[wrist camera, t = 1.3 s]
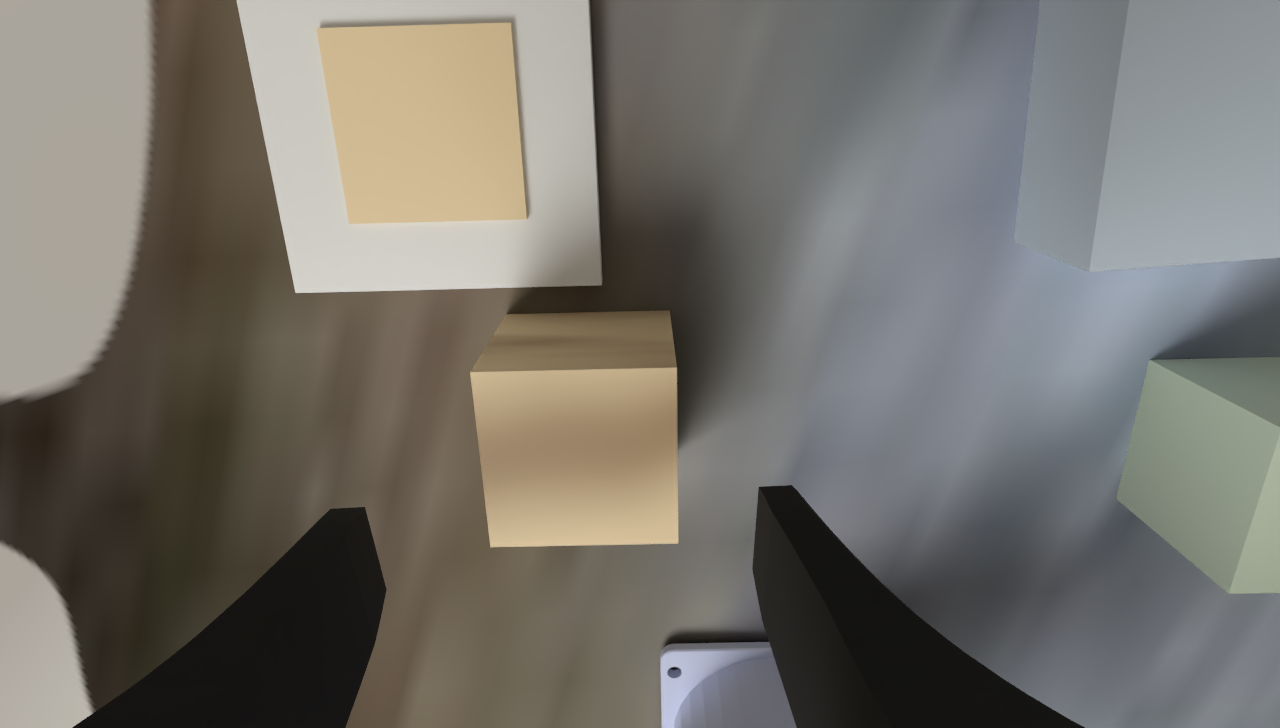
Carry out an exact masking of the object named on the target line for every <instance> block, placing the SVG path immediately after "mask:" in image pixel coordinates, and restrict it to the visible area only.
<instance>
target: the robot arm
mask: <svg viewBox="0 0 1280 728" xmlns="http://www.w3.org/2000/svg"><path fill="white" fill-rule="evenodd" d="M753 574H754V579H755V585H756V590H757V596H758V601H759V606H760V611H761V616H762V620H763V624H764V627H765V630H766V633H767V637H768V640H769V642H736V643H685V644H669V645H667V646H665V647H664V648H663V649H662V650H661V654H660V665H661V714H662V728H1084V727H1083V726H1081V725H1079V724H1077V723H1075V722H1073V721H1071V720H1070V719H1068V718H1066V717H1064V716H1063V715H1061V714H1059V713H1058V712H1056V711H1054V710H1053V709H1051V708H1049V707H1047V706H1046V705H1044V704H1042V703H1041V702H1039V701H1037V700H1036V699H1034V698H1032V697H1031V696H1029V695H1027V694H1026V693H1024V692H1023V691H1021V690H1020V689H1018V688H1016V687H1015V686H1013V685H1012V684H1010V683H1009V682H1007V681H1005V680H1004V679H1002V678H1001V677H999V676H998V675H997V674H995V673H994V672H992V671H991V670H989V669H988V668H986V667H985V666H984V665H982V664H981V663H979V662H978V661H976V660H975V659H973V658H972V657H971V656H969V655H968V654H966V653H965V652H963V651H962V650H961V649H959V648H958V647H957V646H955V645H954V644H953V643H951V642H950V641H949V640H947V639H946V638H945V637H943V636H942V635H941V634H940V633H938V632H937V631H936V630H935V629H934V628H932V627H931V626H930V625H929V624H927V623H926V622H925V621H924V620H922V619H921V618H920V617H919V616H917V615H916V614H915V613H914V612H913V611H912V610H911V609H909V608H908V607H907V606H906V605H905V604H904V603H903V602H902V601H900V600H899V599H898V598H897V597H896V596H895V595H894V594H893V593H892V592H891V591H890V590H889V589H888V588H886V587H885V586H884V585H883V584H882V583H881V582H880V581H879V580H878V579H877V578H876V577H875V576H874V575H873V574H872V573H871V572H870V571H869V570H868V569H867V568H866V567H865V566H864V565H863V564H862V563H861V562H860V561H859V560H858V559H857V558H856V557H855V556H854V555H853V553H852V552H851V551H850V550H849V549H848V548H847V547H846V546H845V545H844V544H843V543H842V542H841V541H840V540H839V539H838V537H837V536H836V535H835V534H834V533H833V532H832V531H831V530H830V529H829V527H828V526H827V525H826V524H825V523H824V522H823V521H822V519H821V518H820V517H819V516H818V515H817V514H816V512H815V511H814V510H813V509H812V508H811V507H810V505H809V504H808V503H807V502H806V501H805V499H804V498H803V497H802V496H801V495H800V493H799V492H798V491H797V490H796V489H795V488H794V487H793V486H792V485H788V486H768V487H759V492H758V505H757V518H756V531H755V544H754V557H753ZM385 594H386V586H385V582H384V579H383V575H382V571H381V567H380V563H379V560H378V556H377V552H376V548H375V544H374V540H373V537H372V533H371V529H370V525H369V521H368V518H367V514H366V510H365V507H358V508H339V509H330V510H329V511H328V512H327V513H326V514H325V515H324V516H323V517H322V518H321V519H320V520H319V521H318V522H317V523H316V524H315V525H314V526H313V527H312V528H311V529H310V530H309V531H308V532H307V533H306V534H305V535H304V536H303V537H302V538H301V539H300V540H299V541H298V542H297V543H296V544H295V545H294V546H293V547H292V548H291V549H290V550H289V551H288V552H287V553H286V554H285V555H284V556H283V557H282V558H281V559H280V560H279V561H277V562H276V563H275V564H274V565H273V566H272V567H271V568H270V569H269V570H268V571H267V572H266V573H265V574H264V575H263V576H262V577H261V578H260V579H259V580H258V581H257V582H256V583H255V584H254V585H253V586H252V587H251V588H250V589H249V590H247V591H246V592H245V593H244V594H243V595H242V596H241V597H240V598H239V599H237V600H236V601H235V602H234V603H233V604H232V605H231V606H230V607H229V608H227V609H226V610H225V611H224V612H223V613H222V614H221V615H220V616H218V617H217V618H216V619H215V620H214V621H213V622H212V623H211V624H209V625H208V626H207V627H206V628H205V629H204V630H203V631H202V632H200V633H199V634H198V635H197V636H196V637H195V638H193V639H192V640H191V641H190V642H189V643H187V644H186V645H185V646H184V647H183V648H181V649H180V650H179V651H178V652H176V653H175V654H174V655H173V656H171V657H170V658H169V659H168V660H166V661H165V662H164V663H162V664H161V665H160V666H158V667H157V668H156V669H154V670H153V671H152V672H151V673H149V674H148V675H147V676H145V677H144V678H143V679H141V680H140V681H139V682H137V683H136V684H135V685H133V686H132V687H131V688H129V689H128V690H127V691H125V692H124V693H122V694H121V695H119V696H118V697H116V698H115V699H113V700H112V701H111V702H109V703H108V704H106V705H105V706H103V707H102V708H100V709H99V710H97V711H96V712H94V713H93V714H92V715H90V716H89V717H87V718H86V719H84V720H83V721H81V722H80V723H79V724H77V725H76V726H74V727H73V728H345V727H346V724H347V721H348V719H349V716H350V713H351V710H352V707H353V705H354V702H355V699H356V696H357V693H358V691H359V688H360V685H361V682H362V679H363V676H364V673H365V671H366V668H367V665H368V662H369V659H370V656H371V653H372V650H373V647H374V644H375V641H376V636H377V632H378V627H379V623H380V619H381V614H382V609H383V604H384V599H385ZM671 667H678V668H679V669H677V670H671V669H670V668H671Z"/></svg>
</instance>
